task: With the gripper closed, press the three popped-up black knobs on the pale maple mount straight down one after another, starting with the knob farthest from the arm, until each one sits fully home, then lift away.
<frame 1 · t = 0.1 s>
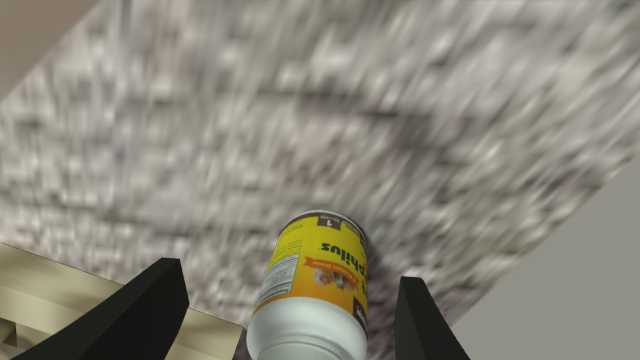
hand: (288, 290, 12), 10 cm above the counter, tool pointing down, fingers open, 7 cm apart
supplement bottle: (323, 239, 24), on the counter
knob mount: (109, 324, 30), on the counter
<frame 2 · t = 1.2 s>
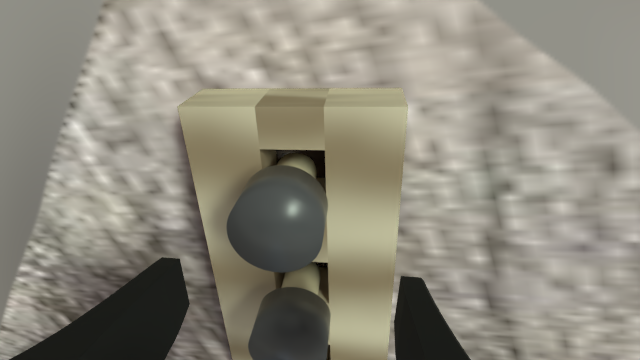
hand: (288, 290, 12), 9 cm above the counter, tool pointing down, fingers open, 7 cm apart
knob mount: (308, 248, 23), on the counter
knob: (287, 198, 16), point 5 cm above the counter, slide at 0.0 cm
knob middle: (296, 307, 19), point 5 cm above the counter, slide at 0.0 cm
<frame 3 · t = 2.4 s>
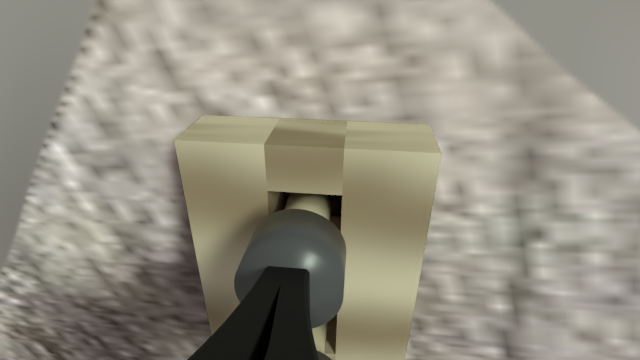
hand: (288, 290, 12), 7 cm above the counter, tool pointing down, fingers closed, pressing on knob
knob mount: (313, 288, 21), on the counter
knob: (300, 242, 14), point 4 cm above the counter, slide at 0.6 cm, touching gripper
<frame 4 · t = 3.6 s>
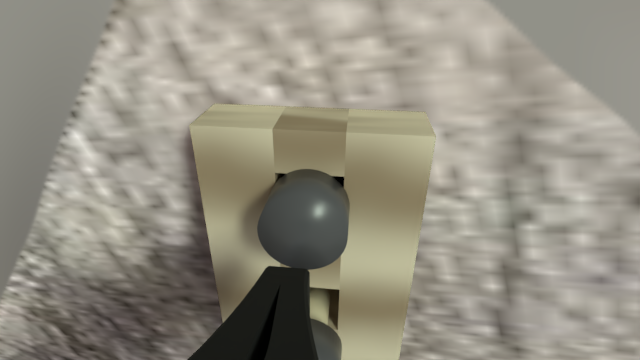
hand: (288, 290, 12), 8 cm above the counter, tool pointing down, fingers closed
knob mount: (316, 269, 22), on the counter
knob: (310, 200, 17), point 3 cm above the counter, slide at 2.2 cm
knob middle: (305, 336, 18), point 5 cm above the counter, slide at 0.0 cm
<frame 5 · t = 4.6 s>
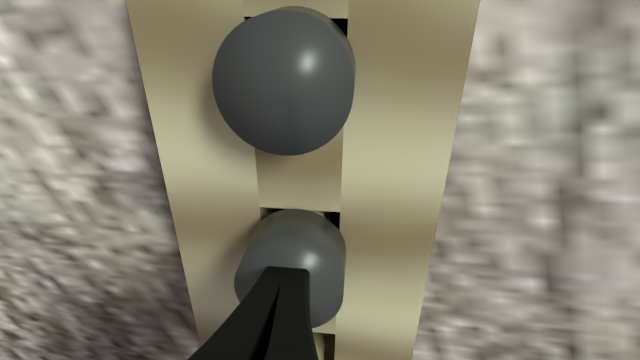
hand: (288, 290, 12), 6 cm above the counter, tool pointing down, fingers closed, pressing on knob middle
knob mount: (310, 201, 17), on the counter
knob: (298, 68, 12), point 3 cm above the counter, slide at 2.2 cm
knob middle: (300, 242, 14), point 3 cm above the counter, slide at 1.8 cm, touching gripper
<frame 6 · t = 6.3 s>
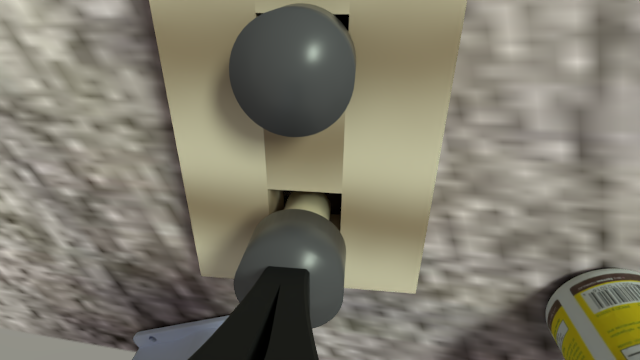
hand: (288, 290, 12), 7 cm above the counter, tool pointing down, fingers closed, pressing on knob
supplement bottle: (595, 299, 20), on the counter
knob mount: (313, 47, 15), on the counter
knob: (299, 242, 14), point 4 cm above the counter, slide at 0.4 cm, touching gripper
knob middle: (304, 60, 13), point 3 cm above the counter, slide at 2.2 cm
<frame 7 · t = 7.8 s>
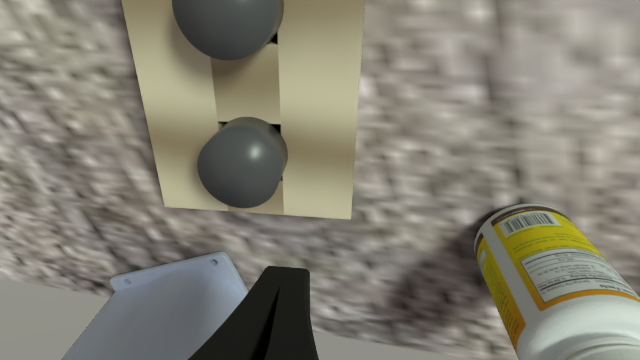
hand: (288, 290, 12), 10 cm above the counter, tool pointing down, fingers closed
supplement bottle: (518, 236, 23), on the counter
knob mount: (257, 1, 18), on the counter
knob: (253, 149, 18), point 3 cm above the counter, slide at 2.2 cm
knob middle: (242, 3, 15), point 3 cm above the counter, slide at 2.2 cm
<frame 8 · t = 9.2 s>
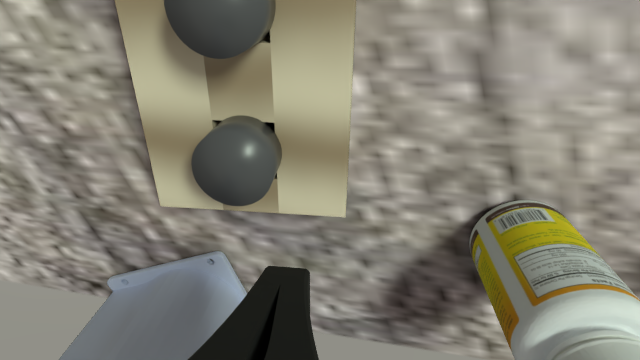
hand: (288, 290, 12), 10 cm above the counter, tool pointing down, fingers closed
supplement bottle: (513, 233, 23), on the counter
knob mount: (251, 0, 18), on the counter
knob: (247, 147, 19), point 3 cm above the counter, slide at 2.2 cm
knob middle: (234, 3, 15), point 3 cm above the counter, slide at 2.2 cm
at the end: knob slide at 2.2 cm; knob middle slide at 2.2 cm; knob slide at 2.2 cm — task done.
